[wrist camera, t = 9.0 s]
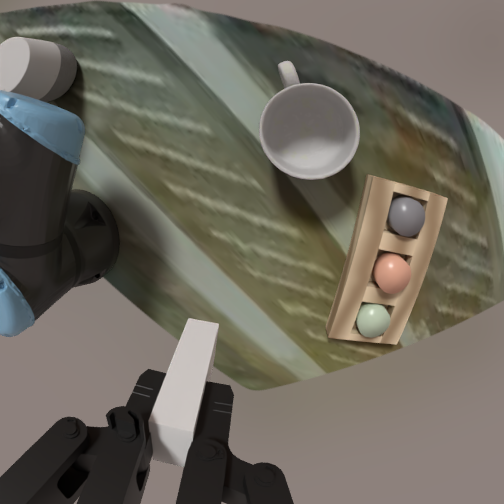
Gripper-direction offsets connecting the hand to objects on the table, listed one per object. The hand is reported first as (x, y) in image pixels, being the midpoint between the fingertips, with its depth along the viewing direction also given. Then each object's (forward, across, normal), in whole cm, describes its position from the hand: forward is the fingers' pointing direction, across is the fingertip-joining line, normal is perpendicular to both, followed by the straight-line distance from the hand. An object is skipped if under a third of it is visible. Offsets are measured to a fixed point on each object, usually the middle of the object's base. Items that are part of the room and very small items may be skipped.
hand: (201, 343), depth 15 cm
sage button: (+27, +22, -11) cm, 37 cm away
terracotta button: (+26, +22, -3) cm, 34 cm away
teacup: (+29, +6, +14) cm, 32 cm away
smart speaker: (+29, -32, +18) cm, 47 cm away
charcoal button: (+27, +22, +5) cm, 35 cm away
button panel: (+28, +22, -3) cm, 36 cm away
